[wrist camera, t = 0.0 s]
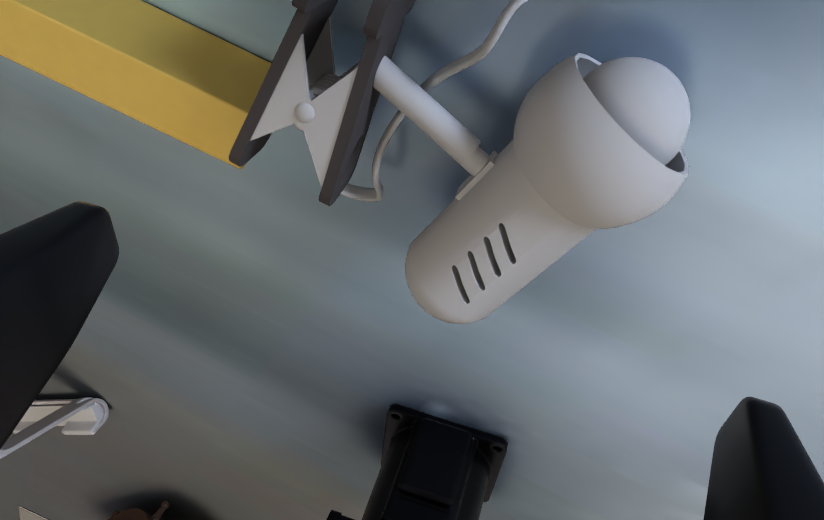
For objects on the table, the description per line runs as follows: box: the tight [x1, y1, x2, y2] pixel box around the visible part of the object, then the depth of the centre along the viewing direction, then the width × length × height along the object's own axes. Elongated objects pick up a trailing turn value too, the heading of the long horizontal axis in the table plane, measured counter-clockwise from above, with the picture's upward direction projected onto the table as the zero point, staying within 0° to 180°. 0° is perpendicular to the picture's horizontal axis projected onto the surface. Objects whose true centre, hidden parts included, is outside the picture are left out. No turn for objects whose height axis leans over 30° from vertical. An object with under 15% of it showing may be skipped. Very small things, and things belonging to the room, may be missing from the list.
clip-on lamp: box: [229, 0, 690, 324], centre depth 20 cm, size 12×6×18 cm
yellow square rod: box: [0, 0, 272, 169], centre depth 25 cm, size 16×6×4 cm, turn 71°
